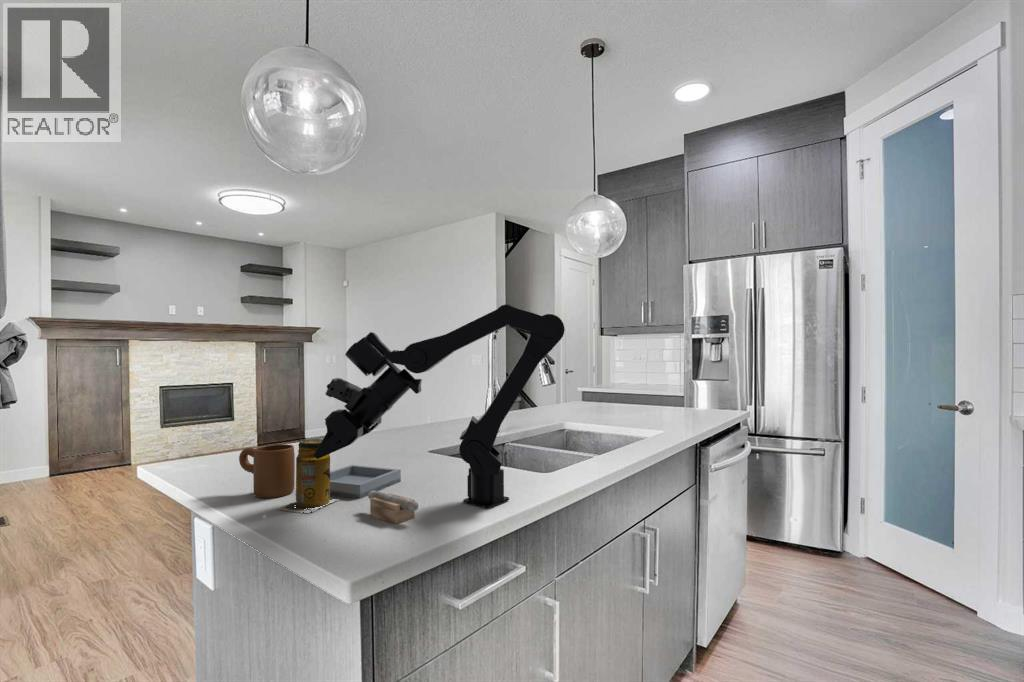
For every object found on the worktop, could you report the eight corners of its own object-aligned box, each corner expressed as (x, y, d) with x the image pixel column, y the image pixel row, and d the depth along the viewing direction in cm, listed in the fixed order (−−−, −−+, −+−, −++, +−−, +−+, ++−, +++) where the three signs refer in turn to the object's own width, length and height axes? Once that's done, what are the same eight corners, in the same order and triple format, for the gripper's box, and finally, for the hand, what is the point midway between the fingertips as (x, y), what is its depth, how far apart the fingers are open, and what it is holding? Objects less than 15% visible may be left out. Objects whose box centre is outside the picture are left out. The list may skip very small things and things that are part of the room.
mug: (225, 496, 98) (225, 449, 98) (253, 486, 106) (253, 442, 106) (277, 500, 96) (277, 452, 96) (302, 489, 103) (302, 444, 103)
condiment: (339, 500, 95) (340, 438, 96) (309, 514, 87) (309, 446, 87) (309, 497, 97) (309, 437, 98) (276, 510, 89) (276, 444, 90)
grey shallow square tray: (400, 481, 109) (400, 469, 109) (360, 498, 96) (360, 485, 96) (351, 475, 114) (351, 464, 114) (307, 491, 101) (307, 478, 101)
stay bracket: (425, 520, 83) (425, 499, 83) (407, 527, 80) (407, 505, 80) (378, 506, 91) (378, 487, 91) (360, 512, 88) (360, 492, 88)
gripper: (366, 362, 103) (312, 415, 102) (337, 365, 84) (271, 429, 83) (404, 400, 103) (350, 453, 102) (383, 410, 84) (317, 475, 83)
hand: (324, 451), depth 93 cm, fingers open, 9 cm apart
